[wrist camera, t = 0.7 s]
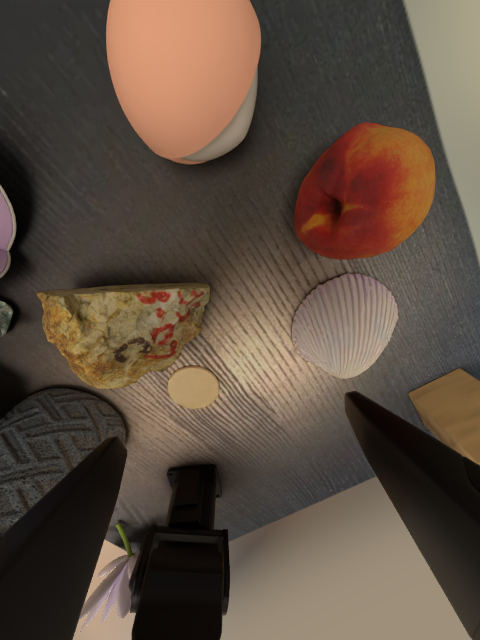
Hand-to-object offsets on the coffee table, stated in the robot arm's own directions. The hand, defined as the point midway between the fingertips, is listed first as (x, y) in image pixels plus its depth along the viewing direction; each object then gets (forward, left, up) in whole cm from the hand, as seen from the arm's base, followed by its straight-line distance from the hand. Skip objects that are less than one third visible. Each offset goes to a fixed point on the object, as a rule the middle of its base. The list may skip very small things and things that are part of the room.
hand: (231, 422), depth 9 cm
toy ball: (+14, +1, -14) cm, 20 cm away
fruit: (+8, -9, -14) cm, 19 cm away
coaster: (-9, +5, -14) cm, 18 cm away
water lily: (-33, +20, -14) cm, 41 cm away
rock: (-1, +8, -14) cm, 16 cm away
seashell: (-3, -11, -14) cm, 18 cm away
